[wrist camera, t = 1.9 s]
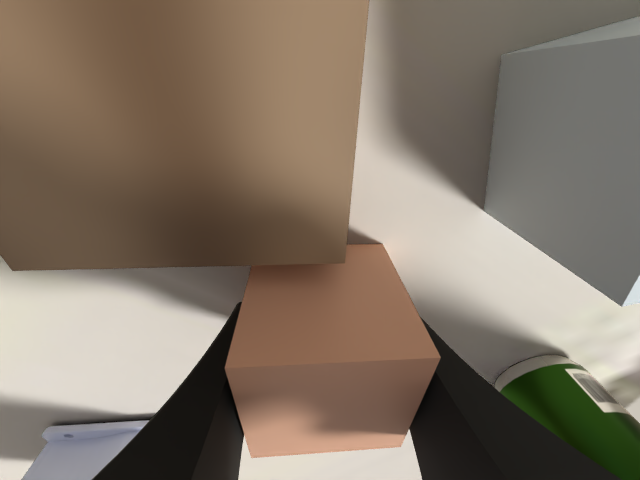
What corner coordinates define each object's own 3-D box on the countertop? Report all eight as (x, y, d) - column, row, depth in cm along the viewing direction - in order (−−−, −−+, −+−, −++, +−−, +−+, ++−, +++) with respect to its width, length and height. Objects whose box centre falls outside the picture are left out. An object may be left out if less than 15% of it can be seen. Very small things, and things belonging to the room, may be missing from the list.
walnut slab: (80, 226, 9) (12, 270, 7) (-177, -252, 4) (-663, -594, 2) (334, 223, 10) (344, 263, 7) (360, -197, 5) (407, -416, 3)
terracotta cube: (267, 330, 13) (251, 457, 8) (256, 246, 10) (225, 368, 6) (367, 326, 13) (400, 446, 9) (382, 243, 10) (440, 357, 6)
